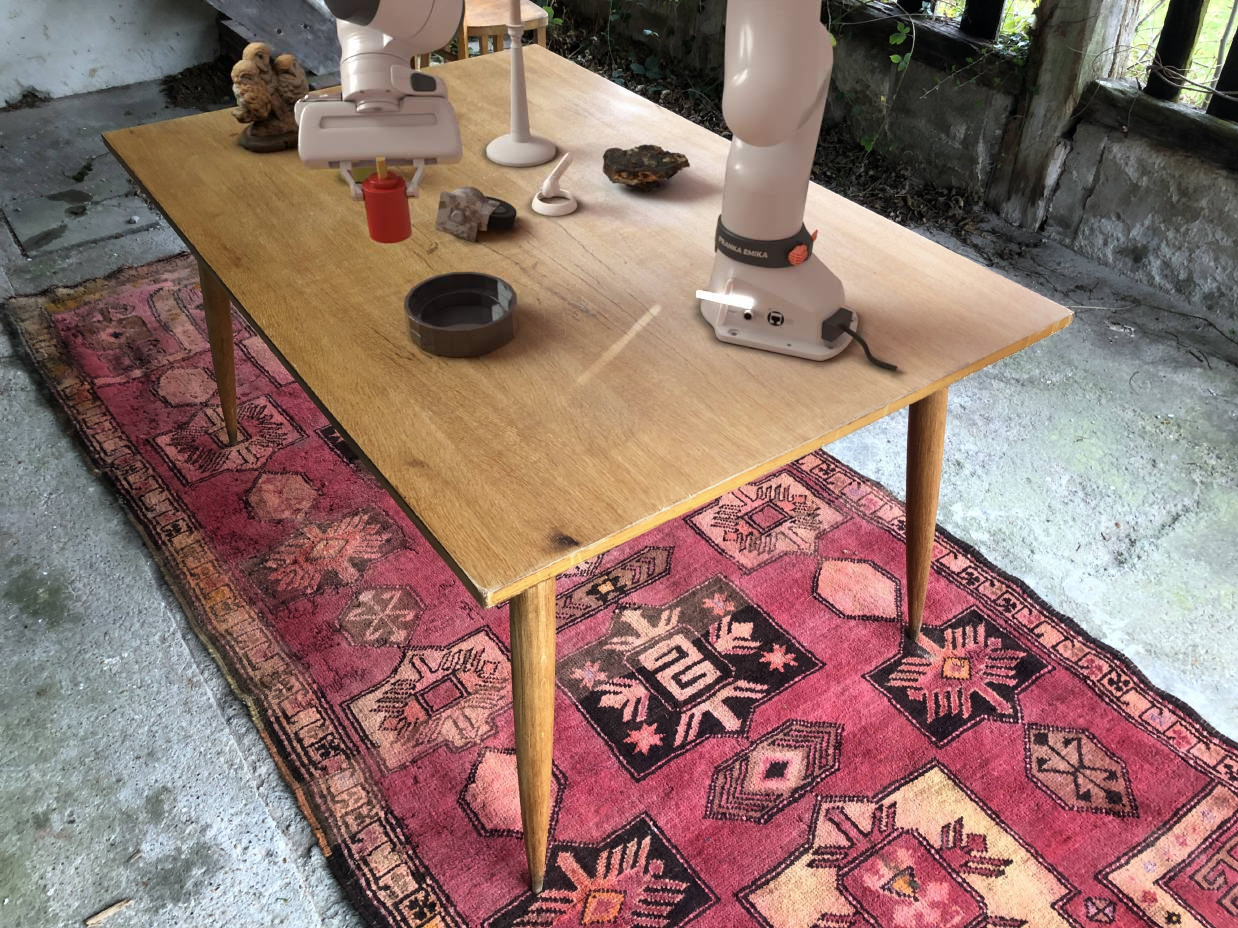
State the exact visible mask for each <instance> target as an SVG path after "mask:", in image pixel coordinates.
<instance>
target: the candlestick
mask: <svg viewBox="0 0 1238 928" xmlns="http://www.w3.org/2000/svg"><path fill="white" fill-rule="evenodd" d="M507 2H508V19H509V20H507V21H505V22H504V25H505V26H506V27H507V28H508V29H507V33H508V35H509V36H510V40H511V43H510V45H509V47H510V127H509V129H510V131H509V132H510V133H507V134H503V135H500V136H498V137H496V138H494V139H493V140H491V142H490V143H489V144H488V145H487V146H486V156H487V157H488V159H489V160H490V161H492V162H494V163H496V164H499V165H502V166H507V167H517V168H525V167H534V166H538V165H543V164H544V163H545V164H546V163H547V162H550V161H551V160H552V159H553V158H554V157H555V156H556V153H557V152H556V150H557V149H556V146H555V144H554V143H553V142H552V141H551V140H549V139H548V138H547V137H544V136H542V135H539V134H536V133H531V130H530V128H531V126H530V117H529V105H528V97H527V89H526V88H527V85H526V76H525V63H524V51H523V44H522V36H523V35H524V27H525V26H526V25H527V22H526V21H524V20H522V11H521V0H508V1H507Z"/></svg>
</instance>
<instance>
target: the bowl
mask: <svg viewBox="0 0 1238 928" xmlns="http://www.w3.org/2000/svg"><path fill="white" fill-rule="evenodd" d="M403 311H404V318H405V325H406V333H407V334H408V337H409V339H410V341H411V342H412V343H413V344H414V345H415V346H417V347H418V348H419V349H420V350H423V351H424V352H426V353H427V352H428V353H430V354H433V355H435V356H441V357H447V358H471V357H478V356H482V355H486V354H490V353H492V352H494V351H496V350H499V349H501V348H503V347H504V346H506V345H507V344H508V343H510V342H511V340H513V339H514V337H515V335H516V334H517V332H518V330H519V312H518V295H517V292H516V291H515V289H514V288H513V286H512V285H511V284H510V283H509V282H507V281H506V280H504V279H502V278H500V277H498V276H495V275H492V274H488V273H486V272H485V273H484V272H476V271H451V272H446V273H441V274H437V275H434V276H431V277H429V278H426V279H424V280H422V281H420V282H419V283H417V284H416V285H414V286H413V287H412V288H410V290H409V291H408V292H407V294H406V295H405V297H404V303H403Z"/></svg>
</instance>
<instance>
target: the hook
mask: <svg viewBox="0 0 1238 928" xmlns="http://www.w3.org/2000/svg"><path fill="white" fill-rule="evenodd" d="M574 160H575V159H574V156H573V154H572V153H571V152H566V153H565V154H564V156H563V157H562V158H561V160H560V161H559V162H558V163H557V165H556V166H555V167H554V169H553V170H552V171H551V172H550V174H549V175H548V177H546V179H545V180H544V181H543V183H542V185H540V188H539V191H538V192H537V193H536V194H535V196H534V197H533V199H532V203H531V208H532V209H533V211H535V212H536V213H538V214H540V215H543V216H548V217H549V216H550V217H558V216H559V217H560V216H565V215H568V214H571V213H573V212H574V211H575V210H577V208H578V204H577V200H576V198H575V196H574V194H573V193H572V192H570V191H569V190H567V189H564V188H563V189H562V187H561V185H560V182H559V180H560V179H561V177H562V176H563V175H564V174H565V173H566V171H567V170H568V169H569V167H570V166H571V165H572V163H573V161H574ZM552 197H560V198H565V199H568V201H566V202H563V203H557V204H556V203H553V204H551V203H546V202H543V201H541V200H540V199H543V198H549V199H550V198H552Z"/></svg>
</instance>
